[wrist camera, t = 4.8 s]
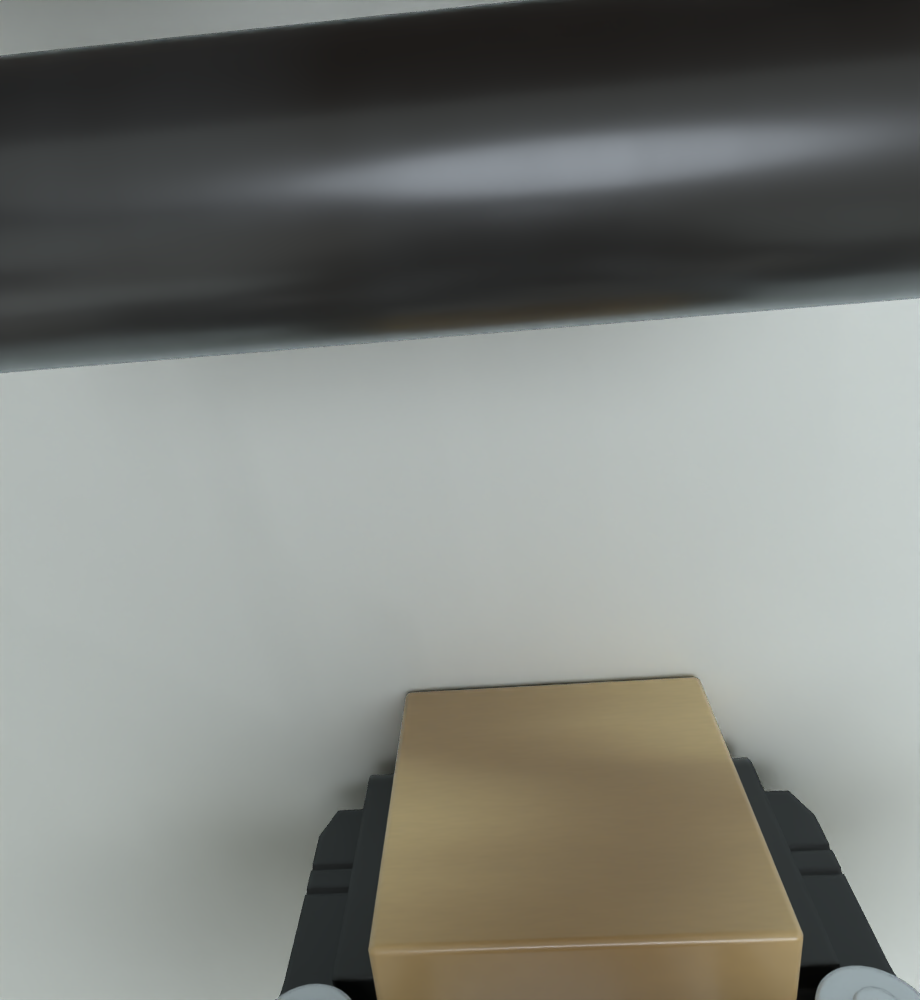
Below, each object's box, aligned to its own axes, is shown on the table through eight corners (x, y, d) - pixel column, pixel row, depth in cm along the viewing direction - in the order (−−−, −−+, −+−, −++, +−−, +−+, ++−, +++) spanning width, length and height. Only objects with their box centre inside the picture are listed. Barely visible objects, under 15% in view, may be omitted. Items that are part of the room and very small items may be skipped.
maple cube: (433, 901, 14) (412, 1204, 10) (405, 689, 13) (365, 952, 8) (692, 891, 14) (778, 1197, 10) (699, 674, 12) (807, 935, 8)
